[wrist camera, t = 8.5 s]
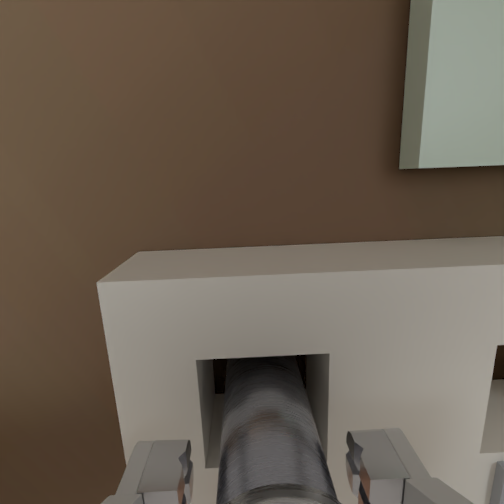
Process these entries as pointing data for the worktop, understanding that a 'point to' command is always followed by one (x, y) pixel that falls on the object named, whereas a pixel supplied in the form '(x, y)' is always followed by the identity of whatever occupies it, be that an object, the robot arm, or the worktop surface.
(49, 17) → the worktop surface
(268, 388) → the plug
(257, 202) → the worktop surface
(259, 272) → the socket board
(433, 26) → the pale green square tile
